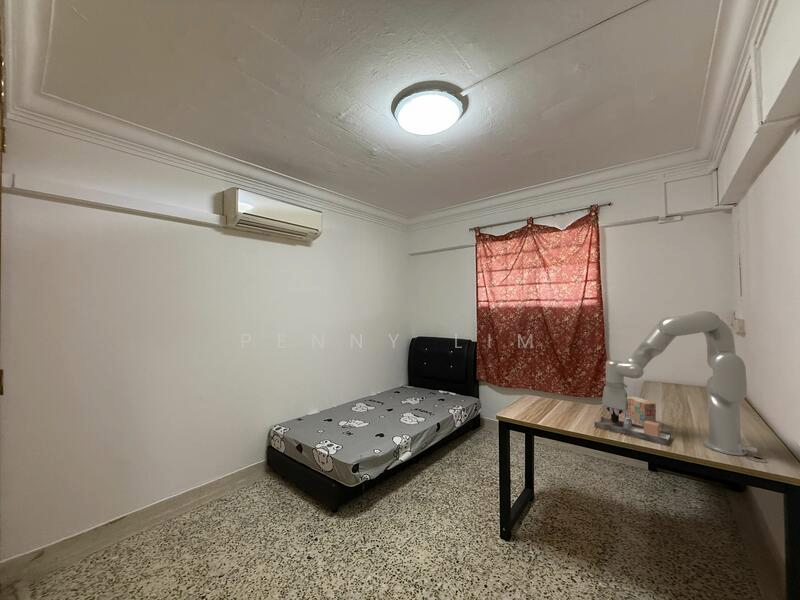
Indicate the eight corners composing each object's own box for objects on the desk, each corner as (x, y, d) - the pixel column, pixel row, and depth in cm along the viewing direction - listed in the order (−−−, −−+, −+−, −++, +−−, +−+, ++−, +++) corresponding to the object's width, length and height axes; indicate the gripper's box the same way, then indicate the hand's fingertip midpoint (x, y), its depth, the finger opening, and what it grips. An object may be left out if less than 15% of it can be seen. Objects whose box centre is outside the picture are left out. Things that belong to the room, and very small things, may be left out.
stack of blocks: (611, 413, 178) (611, 392, 178) (621, 413, 179) (621, 391, 179) (645, 427, 157) (645, 403, 157) (656, 427, 158) (656, 403, 158)
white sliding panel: (670, 437, 142) (670, 428, 143) (667, 442, 137) (667, 433, 137) (628, 426, 154) (628, 418, 154) (623, 431, 148) (623, 423, 149)
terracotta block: (659, 434, 144) (659, 423, 144) (657, 436, 140) (657, 425, 141) (646, 430, 148) (646, 420, 148) (643, 433, 144) (643, 422, 144)
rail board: (671, 438, 143) (671, 432, 143) (667, 446, 135) (666, 439, 135) (601, 421, 164) (601, 416, 164) (594, 427, 156) (594, 421, 156)
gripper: (634, 387, 152) (635, 424, 152) (599, 381, 163) (600, 416, 163) (631, 389, 147) (631, 428, 147) (595, 383, 158) (595, 419, 158)
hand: (614, 422), depth 155 cm, fingers closed
